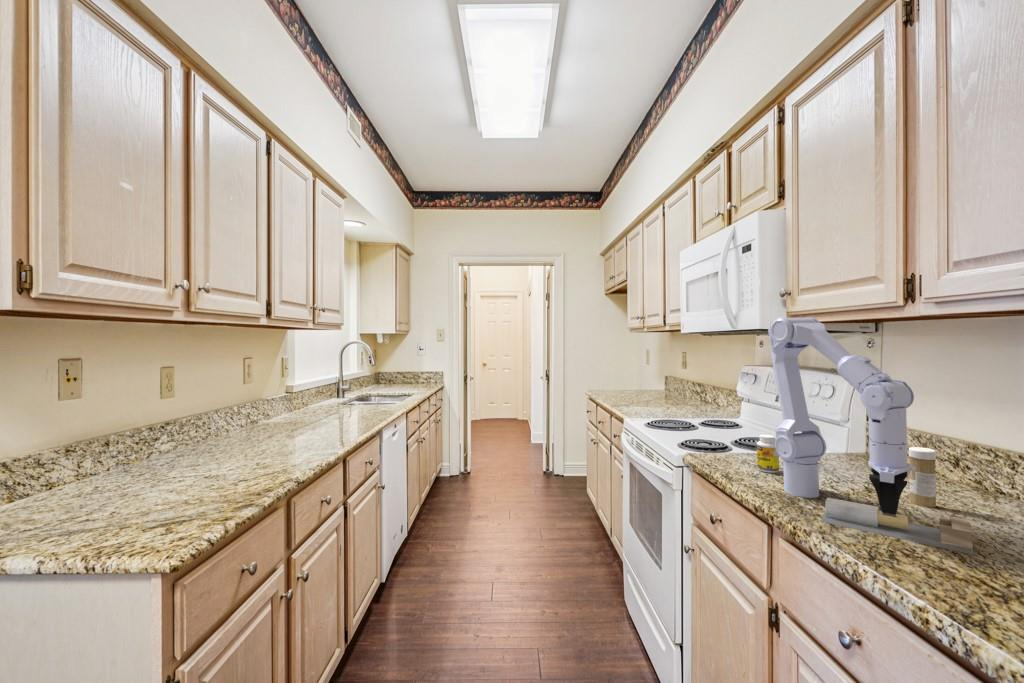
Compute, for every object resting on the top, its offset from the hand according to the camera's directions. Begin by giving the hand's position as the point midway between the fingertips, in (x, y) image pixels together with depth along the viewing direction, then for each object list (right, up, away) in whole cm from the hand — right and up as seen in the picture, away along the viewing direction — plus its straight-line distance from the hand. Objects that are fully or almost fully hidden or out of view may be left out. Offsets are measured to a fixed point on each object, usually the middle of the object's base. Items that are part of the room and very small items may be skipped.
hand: (889, 509), depth 87 cm
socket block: (+7, -3, -6) cm, 10 cm away
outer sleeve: (-4, -4, +4) cm, 7 cm away
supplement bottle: (0, -5, +41) cm, 41 cm away
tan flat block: (-2, -4, +2) cm, 5 cm away
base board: (0, -5, 0) cm, 5 cm away
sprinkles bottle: (+17, -4, +11) cm, 21 cm away
